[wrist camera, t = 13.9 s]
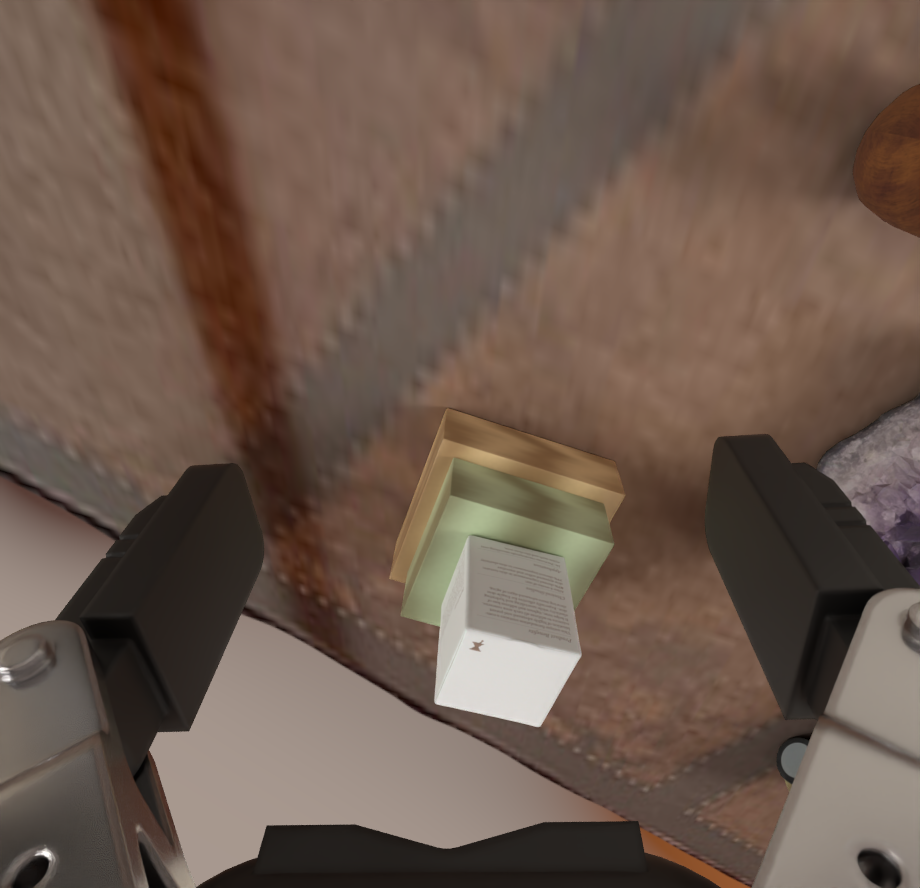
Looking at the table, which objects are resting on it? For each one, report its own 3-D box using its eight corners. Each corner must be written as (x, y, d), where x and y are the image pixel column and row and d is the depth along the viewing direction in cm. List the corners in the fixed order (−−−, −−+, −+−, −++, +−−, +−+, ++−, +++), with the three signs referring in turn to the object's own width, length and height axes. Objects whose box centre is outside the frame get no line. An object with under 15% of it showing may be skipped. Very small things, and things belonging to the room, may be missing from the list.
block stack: (396, 541, 48) (380, 622, 41) (446, 407, 42) (438, 475, 35) (546, 584, 50) (555, 669, 43) (615, 461, 44) (639, 536, 37)
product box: (439, 603, 40) (430, 705, 34) (468, 530, 37) (464, 627, 31) (532, 626, 41) (540, 730, 35) (568, 556, 38) (584, 656, 31)
